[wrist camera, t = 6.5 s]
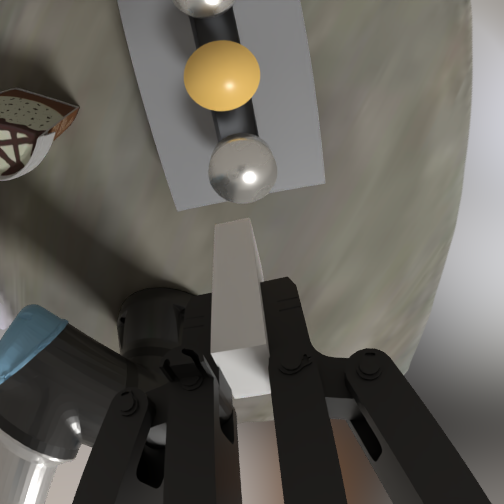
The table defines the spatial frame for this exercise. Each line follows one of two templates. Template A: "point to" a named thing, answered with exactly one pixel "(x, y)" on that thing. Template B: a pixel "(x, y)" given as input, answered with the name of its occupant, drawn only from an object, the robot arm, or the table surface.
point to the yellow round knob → (221, 75)
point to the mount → (236, 120)
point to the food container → (29, 129)
